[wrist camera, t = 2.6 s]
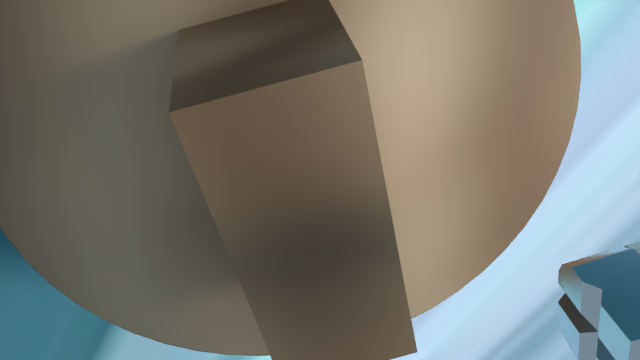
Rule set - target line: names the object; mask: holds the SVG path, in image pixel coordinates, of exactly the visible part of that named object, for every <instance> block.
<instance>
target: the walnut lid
mask: <svg viewBox="0 0 640 360" xmlns="http://www.w3.org/2000/svg"><path fill="white" fill-rule="evenodd" d="M580 81H581V51H580V36H579V30H578V24H577V18H576V12H575V6H574V2H573V0H0V228H1V230H2V232H3V233H4V234H5V236H6V237H7V238H8V239H9V241H10V242H11V243H12V244H13V245H14V247H15V248H16V249H17V250H18V252H19V253H20V254H21V255H22V257H23V258H24V259H25V260H26V261H27V262H28V263H29V264H30V265H31V266H32V267H33V268H34V269H35V270H36V271H37V272H38V273H39V274H40V275H41V276H42V277H43V278H45V279H46V280H47V281H48V282H49V283H50V284H51V285H52V286H54V287H55V288H56V289H58V290H59V291H60V292H62V293H63V294H64V295H66V296H67V297H68V298H70V299H71V300H72V301H74V302H75V303H76V304H78V305H80V306H81V307H83V308H85V309H87V310H88V311H90V312H92V313H93V314H95V315H97V316H99V317H100V318H102V319H104V320H105V321H108V322H110V323H112V324H114V325H117V326H119V327H121V328H123V329H125V330H128V331H130V332H132V333H134V334H137V335H140V336H143V337H146V338H149V339H152V340H155V341H158V342H161V343H164V344H168V345H173V346H177V347H182V348H186V349H190V350H195V351H202V352H210V353H217V354H225V355H247V356H266V355H270V356H271V358H272V360H390V359H394V358H397V357H401V356H405V355H408V354H412V353H416V352H417V348H416V343H415V338H414V332H413V327H412V322H411V319H412V318H414V317H416V316H418V315H420V314H422V313H424V312H426V311H428V310H429V309H431V308H433V307H435V306H436V305H438V304H439V303H441V302H442V301H444V300H445V299H447V298H448V297H450V296H451V295H453V294H455V293H456V292H458V291H459V290H460V289H461V288H463V287H464V286H465V285H466V284H468V283H469V282H470V281H471V280H473V279H474V278H475V277H477V276H478V275H479V274H480V273H482V272H483V271H484V270H485V269H486V268H487V267H488V266H489V265H490V264H491V263H492V262H493V261H494V260H495V259H496V258H497V257H498V256H499V255H500V254H501V253H502V252H503V251H504V250H505V249H506V248H507V247H508V246H509V244H510V243H511V242H512V241H513V240H514V239H515V237H516V236H517V235H518V234H519V233H520V232H521V230H522V229H523V228H524V227H525V225H526V224H527V222H528V221H529V219H530V218H531V216H532V215H533V214H534V212H535V211H536V209H537V208H538V206H539V205H540V203H541V202H542V200H543V198H544V196H545V195H546V193H547V191H548V189H549V187H550V185H551V183H552V181H553V179H554V178H555V176H556V174H557V172H558V169H559V167H560V164H561V161H562V159H563V156H564V154H565V151H566V149H567V146H568V143H569V140H570V136H571V132H572V128H573V124H574V120H575V116H576V112H577V107H578V98H579V89H580Z"/></svg>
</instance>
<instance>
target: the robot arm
mask: <svg viewBox="0 0 640 360" xmlns="http://www.w3.org/2000/svg"><path fill="white" fill-rule="evenodd" d="M558 283H559V284H560V286H561V287H562V288H563V290H564V291H565V294H564V295H563V296H562V298H561V299H560V300H559V302H558V318H559V322H560V325H561V328H562V332H563V335H564V337H565V339H566V341H567V343H568V345H569V347H570V348H571V350H572V351H573V353H574V354H575V356H576V357H577V359H578V360H640V242H637V243H633V244H630V245H627V246H624V247H618V248H615V249H612V250H608V251H605V252H602V253H599V254H595V255H592V256H589V257H585V258H582V259H579V260H576V261H572V262H569V263H566V264H562V266H561V268H560V270H559V278H558Z"/></svg>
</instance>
